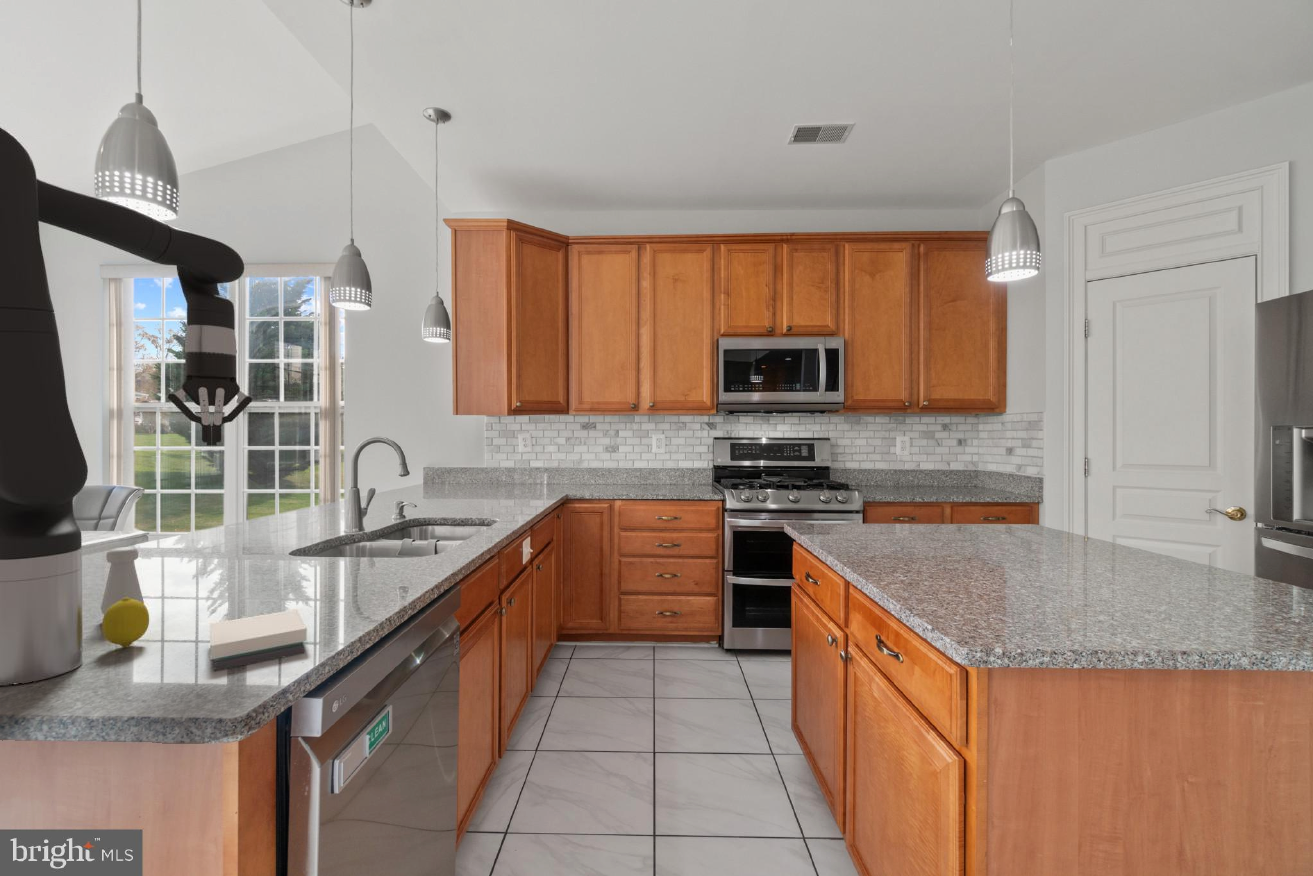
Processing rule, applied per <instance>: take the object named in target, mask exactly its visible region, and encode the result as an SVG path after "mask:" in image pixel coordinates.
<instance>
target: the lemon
mask: <svg viewBox="0 0 1313 876" xmlns="http://www.w3.org/2000/svg"><path fill="white" fill-rule="evenodd" d="M149 614H150V613H149V609H148V607H147V606H146V605H145V603H144V604H143V603H142V602H140V601H138V600H134V599H130V598H129V597H127V598H123V599H122V600H121V601H119V602H117V603H115V604H113V605H112V606H111V607H110V608H109V609H108V610H107V611H106V613H105V615H104V614H103V619H102V623H101V631H102V634H103V637H104V639H106V640H107V641H108V642H109V643H110V644H114V645H119V646H120V647H122V648H128V647H130V646H131V645H132V644H133V643H134V642H136V641H138V640H139V639H141V638H142V637H143V636H144V635H145V633H146V632H147V630H148V628H149V625H150V615H149Z"/></svg>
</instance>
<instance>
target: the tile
mask: <svg viewBox="0 0 1313 876" xmlns="http://www.w3.org/2000/svg"><path fill="white" fill-rule="evenodd" d="M307 632H308V631H307V626H306V625H305V622H304V620H303V618H302V616H301V614H300V612H299V610H298V609H290V610H284V611H279V612H274V613H266V614H261V615H254V616H249V617H242V618H236V619H231V620H224V621H218V622H212V623H209V646H210V647H209V653H210V657H209V658H210V660H213V662H215V661H219V660H224V659H229V658H234V657H239V656H244V655H249V654H254V653H259V652H264V651H269V650H274V649H279V648H284V647H289V646H295V645H300V644H303V645H304V642H307V640H308V639H307V637H308V636H307Z"/></svg>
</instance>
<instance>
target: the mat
mask: <svg viewBox="0 0 1313 876" xmlns="http://www.w3.org/2000/svg"><path fill="white" fill-rule="evenodd" d="M304 648H305V647H304V643H303V644H300V645H295V646H289V647H284V648H279V649H274V650H269V651H264V652H259V653H254V654H249V655H244V656H239V657H234V658H229V659H224V660H219V661H214V672H216V671H222V670H226V669H227V670H228V669H232V668H236V667H242V666H245V665H247V666H248V665H251V663H252V664H256V663H262V662H266V661H271V660H275V659H281V658H284V657H283V656H286V657H290V655H291V656H294V655H293V654H295V655H300V654H303V653H305V649H304ZM299 653H300V654H299ZM261 661H262V662H261ZM241 665H242V666H241Z"/></svg>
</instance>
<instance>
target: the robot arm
mask: <svg viewBox="0 0 1313 876" xmlns="http://www.w3.org/2000/svg"><path fill="white" fill-rule="evenodd" d="M40 222H41V223H44V224H47V225H51V226H54V227H57V228H59V229H60V228H61V229H62V230H66V231H69V232H72V233H76V234H77V235H81V236H83V237H86V238H89V239H92V240H95V241H98V242H101V243H103V244H106V245H109V246H111V247H114V248H116V249H119V250H120V251H124V252H126V253H129V254H131V255H134V256H137V257H139V258H142V259H144V260H148V261H150V262H153V263H155V264H159V265H165V266H176V272H177V277H178V280H179V283H180V287H181V291H182V294H183V297H184V298H185V302H186V332H185V338H184V339H185V340H184V359H185V362H184V364H185V365H184V367H185V369H184V370H185V378H184V379H185V380H184V381H183V382H182V384H181V388H180V389H178V390H177V391H175V392H173V393H169V394H168V395H167V398H168V400H169V401H170V402H171V403H172V404H173V405H174V406H175V407H176V408H177V409H178V410H179V411H180V413H181V412H182V414H184V416H185V417H186V418H187V419H188V420H189V421H191V422H193V423H197V424H199V425H201V440H202V441H201V442H203V443H206V446H210V447H211V446H212V447H213V446H217V445H218V444H217V443H221V441H222V426H223V425H224V424H227V423H231V422H233V421H234V420H235V419H236V418H237V417H238V416H239V415H240V414H241V413H243V411H244V410H245V409H246V408H247V407H248V406H249V405H250V403H252V401H253V398H252V397H251V395H250V396H249V395H247V394H245V393H244V392H242V391H241V388H240V385H239V384H238V379H237V377H238V375H237V353H238V350H237V337H236V332H235V331H236V330H235V327H236V324H235V322H236V321H235V320H236V319H235V313H236V312H235V306H234V303H233V302H232V300H230V299H229V298H227V297H224V296H221V294H220V291H219V286H218V285H219V284H227V283H233V282H236V281H237V280H239V279H241V277H242V276H243V274H244V272H245V264H244V261H243V258H242V257H241V255H240V254H239V253H238V252H237V251H236V250H235V249H234V248H233V247H231V246H229V245H228V244H226V243H224V242H222V241H220V240H217V239H214V238H211V237H208V236H205V235H201V234H198V233H195V232H191V231H188V230H184V229H181V228H177V227H174V226H172V225H170V224H169V223H166V222H164V221H162V220H160V219H157V218H155V217H153V216H151V215H148V214H147V213H145V212H142V211H140V210H137V209H136V208H132V207H130V206H127V205H125V204H121V203H117V202H114V201H112V200H108V199H104V198H100V197H97V196H92V195H90V194H85V193H83V192H78V191H75V190H71V189H68V188H64V187H61V186H58V185H55V184H53V183H50V182H47V181H45V180H42V179H39V178H37V172H36V167H35V164H34V162H33V160H32V157H31V155H30V153H29V152H28V150H27V149H26V147H25V146H24V145H23V143H22V142H21V141H20V140H18V138H17V137H16V136H15V135H13V133H11V132H10V131H8V130H7V129H5V128H4V127H2V126H0V686H7V685H6V684H14V683H22V684H27V683H31V682H32V681H33V682H37V681H41V680H42V681H43V680H46V679H49V678H53V677H56V676H60V675H62V674H65V673H67V672H71V671H73V670H75V669H76V668H79V667H80V666H81V665H82V664H83V652H84V648H83V647H84V646H83V565H82V563H83V559H82V558H83V553H82V552H83V548H82V547H83V546H82V545H83V544H82V543H83V542H82V541H83V540H82V532H81V530H80V527H79V525H78V524H77V521H76V518H75V515H74V503H73V501H74V500H73V498H75V497H76V496H77V495H78V494H79V493H80V492H81V491H82V489H83V488H84V487H85V484H86V483H87V479H88V475H89V471H88V470H89V469H88V464H87V460H86V457H85V454H84V451H83V449H82V448H83V447H82V444H81V443H80V440H79V437H78V434H77V431H76V428H75V425H74V422H73V418H72V416H71V412H70V408H69V404H68V398H67V385H66V378H65V377H66V376H65V370H64V363H63V358H62V350H61V342H60V336H59V335H60V334H59V330H58V325H57V319H56V314H55V310H54V309H55V308H54V306H53V305H54V304H53V301H52V298H51V291H50V286H49V281H48V275H47V269H46V268H47V267H46V262H45V257H44V254H43V248H42V245H41V244H42V243H41V236H40V225H39V224H40ZM185 395H186V396H187V397H188V398H189V399H191V401H192V402H193V403H194V404H195V405H196V406H199V407H200V416H199V415H196V414H195V413H194V412H193V411H192V410H191V409H190V408H189V407H188V406H187V405H186V403H185V402H186V400H187V399H186V397H185ZM236 396H237V398H236ZM234 398H236V400H235V401H236V403H237V405H236V406H235V407H234V408H233V409H232V410H231V411H230V412H229V413H228V414H227V415H224V416H223V411H224V407H226V406H228V405H229V403H231V401H233V399H234ZM210 407H214V412H213V421H212V425H211V417H210ZM4 684H5V685H4ZM14 685H15V684H14Z"/></svg>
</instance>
